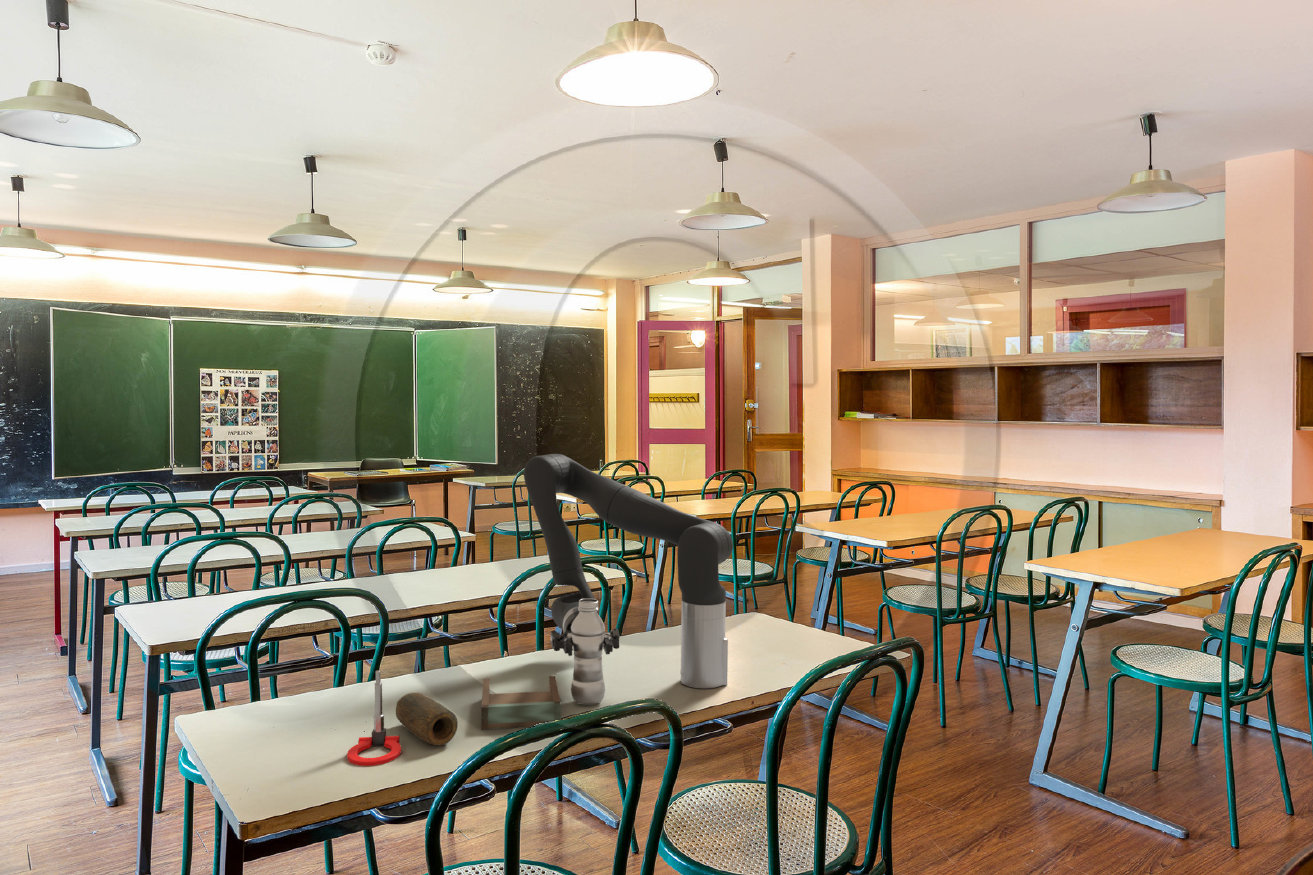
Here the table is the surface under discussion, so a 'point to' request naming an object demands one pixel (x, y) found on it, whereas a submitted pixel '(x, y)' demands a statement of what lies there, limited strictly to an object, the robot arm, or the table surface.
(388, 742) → the tow hook
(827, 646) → the table surface
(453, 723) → the brown wooden tube
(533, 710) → the bay
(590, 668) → the plastic bottle
